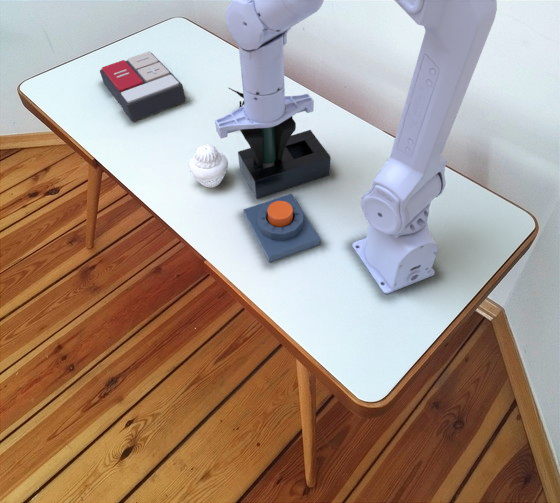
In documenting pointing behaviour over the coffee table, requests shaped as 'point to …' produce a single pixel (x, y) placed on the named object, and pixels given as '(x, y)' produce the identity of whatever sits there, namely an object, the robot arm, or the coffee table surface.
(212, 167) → the white rounded ridged piece
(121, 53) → the coffee table surface
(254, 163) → the holder
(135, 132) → the coffee table surface
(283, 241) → the station
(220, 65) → the coffee table surface
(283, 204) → the power button
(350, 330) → the coffee table surface
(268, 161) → the green cylinder
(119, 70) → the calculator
